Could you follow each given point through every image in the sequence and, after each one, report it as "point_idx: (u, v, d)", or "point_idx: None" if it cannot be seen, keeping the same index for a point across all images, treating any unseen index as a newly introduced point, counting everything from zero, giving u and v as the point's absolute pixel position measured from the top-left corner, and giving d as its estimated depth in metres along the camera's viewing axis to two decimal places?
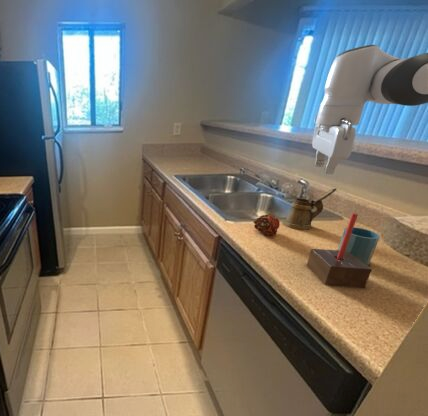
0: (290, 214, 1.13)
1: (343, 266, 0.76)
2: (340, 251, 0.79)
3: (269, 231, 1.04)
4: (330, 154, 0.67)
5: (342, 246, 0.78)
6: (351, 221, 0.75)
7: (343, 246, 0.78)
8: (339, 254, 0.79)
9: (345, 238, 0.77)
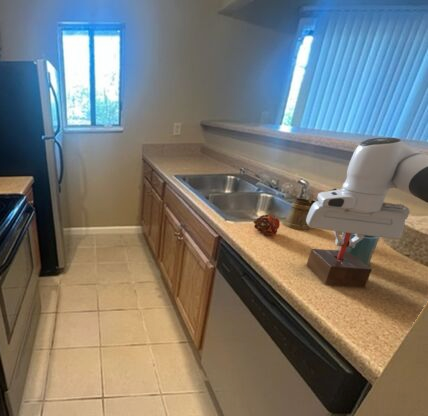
0: (290, 214, 1.13)
1: (343, 266, 0.76)
2: (340, 251, 0.79)
3: (269, 231, 1.04)
4: (395, 236, 0.71)
5: (342, 246, 0.78)
6: None
7: (343, 246, 0.78)
8: (339, 254, 0.79)
9: (345, 238, 0.77)
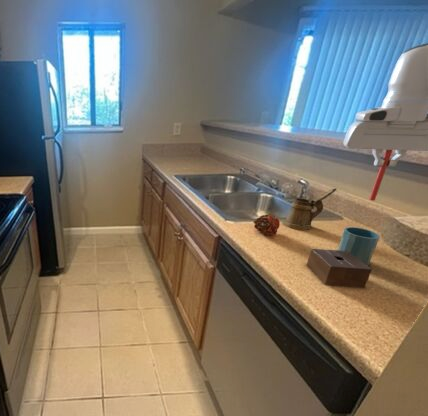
0: (290, 214, 1.13)
1: (343, 266, 0.76)
2: (380, 172, 0.77)
3: (269, 231, 1.04)
4: None
5: (382, 166, 0.76)
6: None
7: (383, 166, 0.76)
8: (378, 175, 0.77)
9: (385, 157, 0.75)
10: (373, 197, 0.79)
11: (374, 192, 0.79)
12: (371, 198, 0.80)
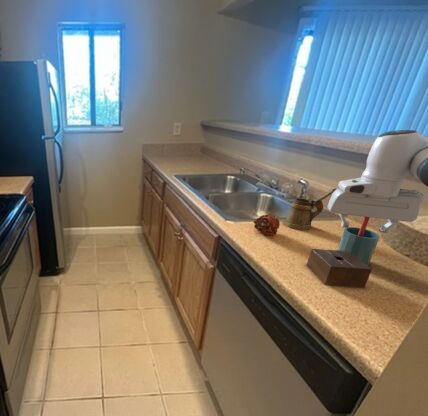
0: (290, 214, 1.13)
1: (343, 266, 0.76)
2: (358, 235, 0.86)
3: (269, 231, 1.04)
4: (411, 219, 0.79)
5: (360, 231, 0.86)
6: None
7: (361, 230, 0.86)
8: None
9: (363, 223, 0.85)
10: None
11: None
12: None
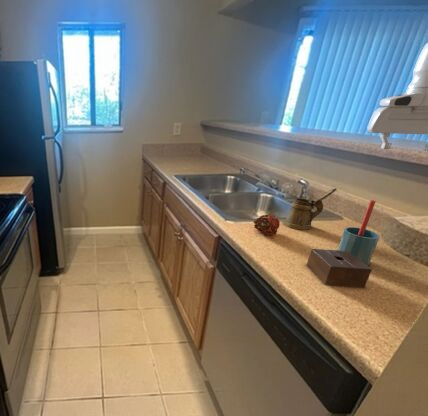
0: (290, 214, 1.13)
1: (343, 266, 0.76)
2: (358, 235, 0.86)
3: (269, 231, 1.04)
4: None
5: (360, 231, 0.86)
6: (369, 207, 0.83)
7: (361, 230, 0.86)
8: None
9: (363, 223, 0.85)
10: None
11: None
12: None
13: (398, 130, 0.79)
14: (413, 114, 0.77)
